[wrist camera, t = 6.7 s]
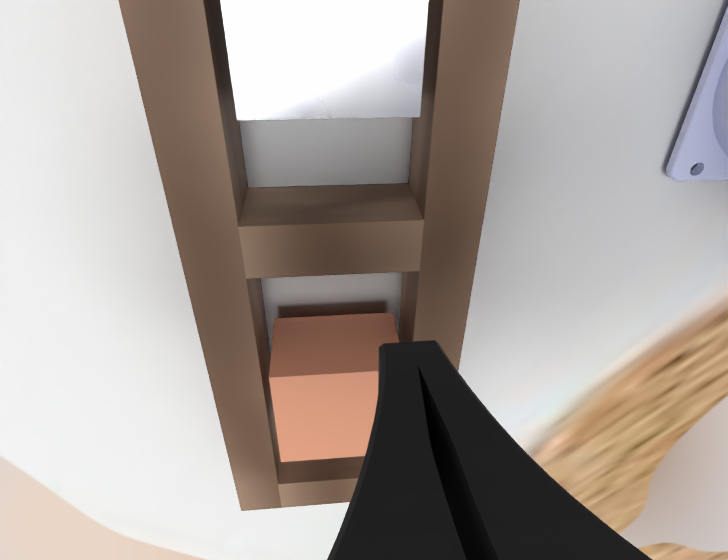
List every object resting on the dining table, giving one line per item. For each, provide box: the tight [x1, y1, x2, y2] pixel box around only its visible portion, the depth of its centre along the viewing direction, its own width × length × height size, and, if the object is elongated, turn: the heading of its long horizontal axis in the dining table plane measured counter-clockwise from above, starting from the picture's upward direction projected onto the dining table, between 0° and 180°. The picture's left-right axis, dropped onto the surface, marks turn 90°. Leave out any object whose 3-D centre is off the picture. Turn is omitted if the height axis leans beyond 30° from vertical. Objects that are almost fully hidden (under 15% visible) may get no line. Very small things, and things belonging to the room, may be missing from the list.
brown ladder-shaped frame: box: [119, 0, 520, 511], centre depth 18 cm, size 10×30×3 cm, turn 0°
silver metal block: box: [221, 0, 429, 120], centre depth 13 cm, size 5×5×3 cm
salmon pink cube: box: [269, 312, 399, 462], centre depth 21 cm, size 5×5×3 cm
